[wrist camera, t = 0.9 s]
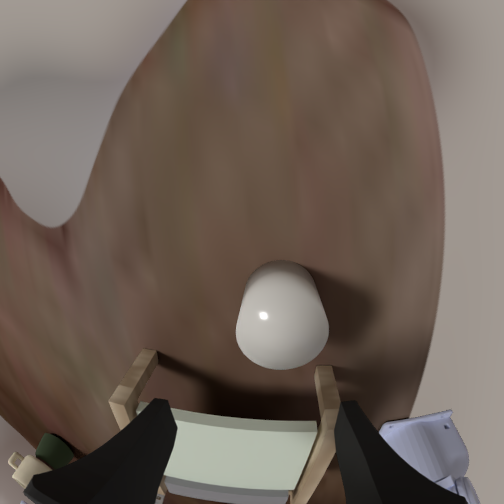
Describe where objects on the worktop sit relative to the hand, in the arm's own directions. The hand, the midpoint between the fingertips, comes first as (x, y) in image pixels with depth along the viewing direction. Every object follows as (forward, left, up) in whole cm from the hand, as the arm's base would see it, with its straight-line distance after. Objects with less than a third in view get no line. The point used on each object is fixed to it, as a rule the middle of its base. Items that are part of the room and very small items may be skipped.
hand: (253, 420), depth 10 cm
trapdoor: (+2, +12, -5) cm, 13 cm away
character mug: (+32, +31, -10) cm, 46 cm away
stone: (-1, -2, -10) cm, 10 cm away
